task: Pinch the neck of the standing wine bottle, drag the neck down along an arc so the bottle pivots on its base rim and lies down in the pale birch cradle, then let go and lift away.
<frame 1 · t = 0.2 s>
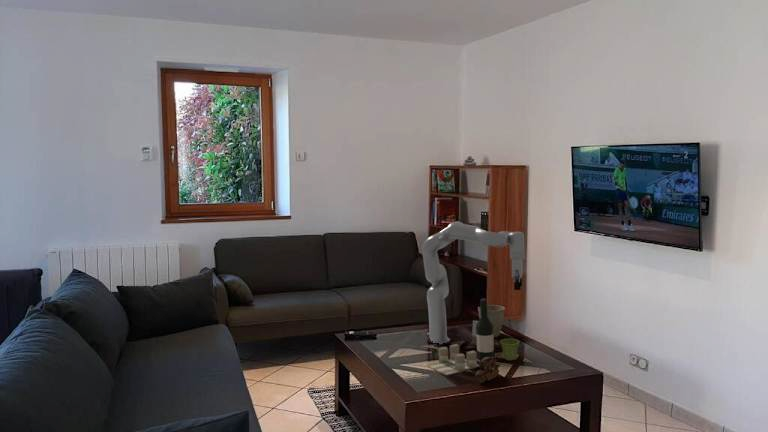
hand: (518, 287, 304), 31 cm above the table, tool pointing down, fingers open, 9 cm apart
plant pot: (492, 335, 328), on the table
wine bottle: (485, 358, 290), on the table
smart speaker: (481, 345, 312), on the table
rest: (453, 366, 280), on the table
wooden carving: (489, 380, 261), on the table
plant pot 2: (510, 359, 288), on the table
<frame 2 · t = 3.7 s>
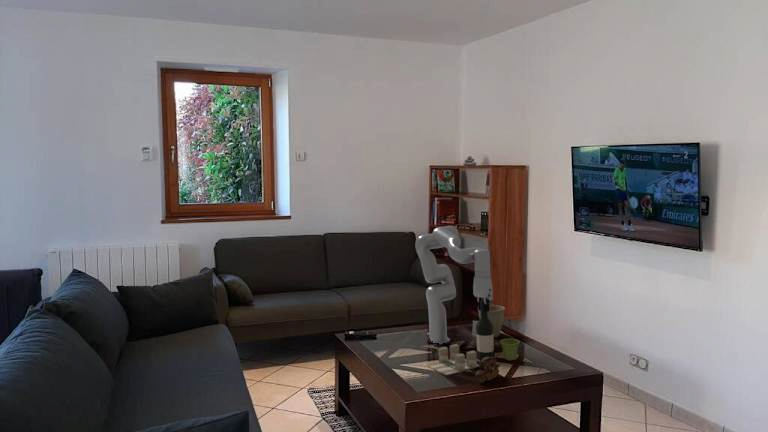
hand: (483, 310, 288), 24 cm above the table, tool pointing down, fingers closed on wine bottle, 3 cm apart
wine bottle: (485, 358, 290), on the table, touching gripper
everything else where it was.
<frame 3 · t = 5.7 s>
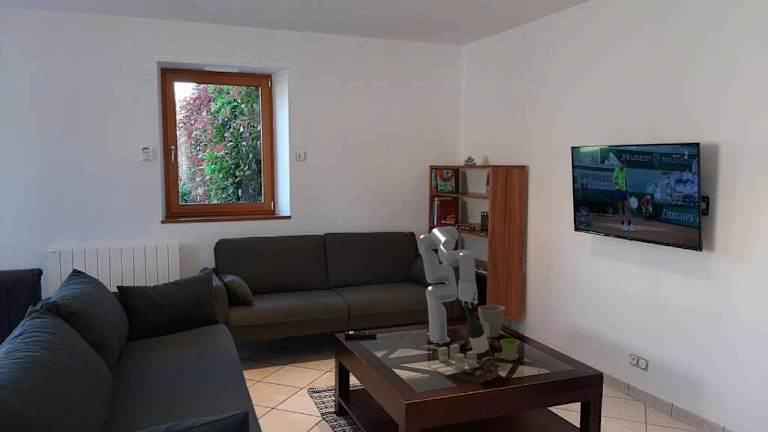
hand: (468, 314, 284), 24 cm above the table, tool pointing down, fingers closed on wine bottle, 3 cm apart
wine bottle: (483, 355, 290), point 1 cm above the table, touching gripper
everything else where it was.
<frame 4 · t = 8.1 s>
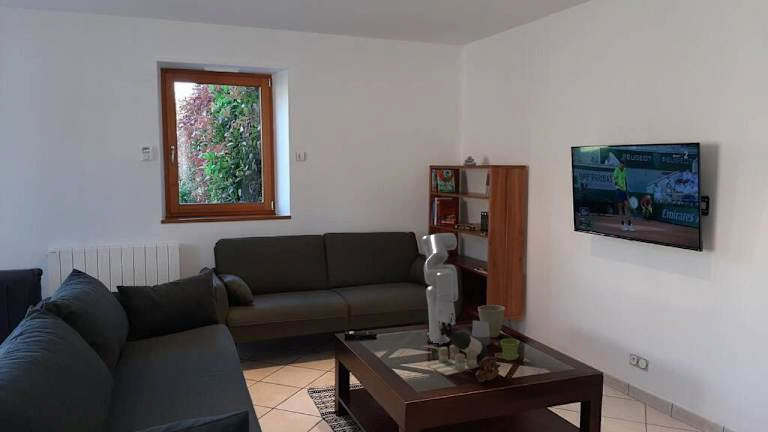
hand: (446, 335, 277), 16 cm above the table, tool pointing down, fingers closed on wine bottle, 3 cm apart
wine bottle: (481, 352, 290), point 3 cm above the table, touching gripper
everything else where it was.
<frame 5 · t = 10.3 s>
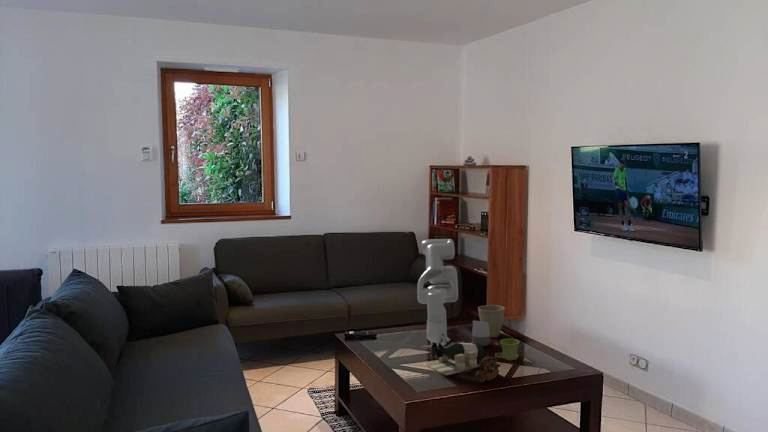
hand: (437, 355, 275), 7 cm above the table, tool pointing down, fingers closed on wine bottle, 3 cm apart
wine bottle: (479, 351, 289), point 4 cm above the table, touching gripper
everything else where it was.
when the fingers open (2 cm above the table, at t = 12.5 s): wine bottle stays where it is, resting on rest.
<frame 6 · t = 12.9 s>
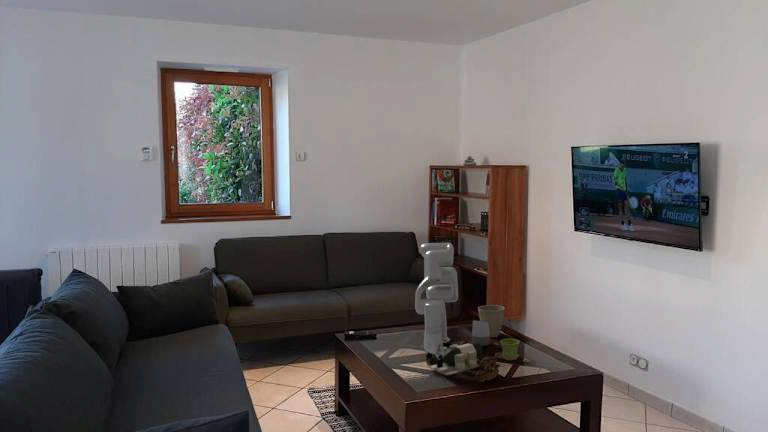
hand: (434, 364, 275), 3 cm above the table, tool pointing down, fingers open, 8 cm apart
wine bottle: (477, 349, 288), point 5 cm above the table, touching rest
everything else where it was.
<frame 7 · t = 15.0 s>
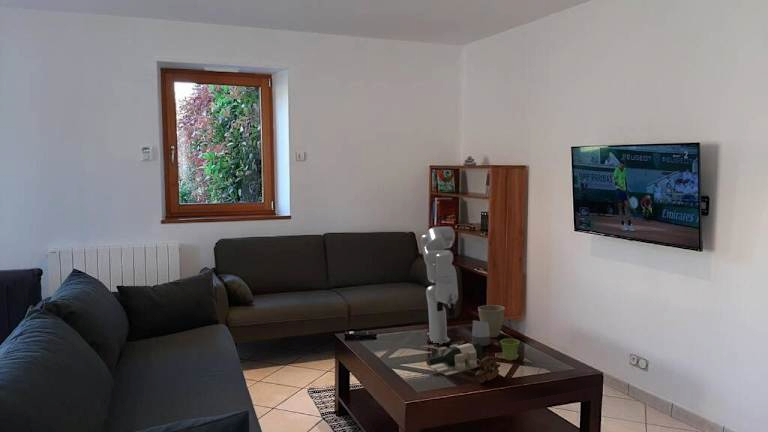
hand: (445, 313, 283), 25 cm above the table, tool pointing down, fingers open, 9 cm apart
nothing on the table moved.
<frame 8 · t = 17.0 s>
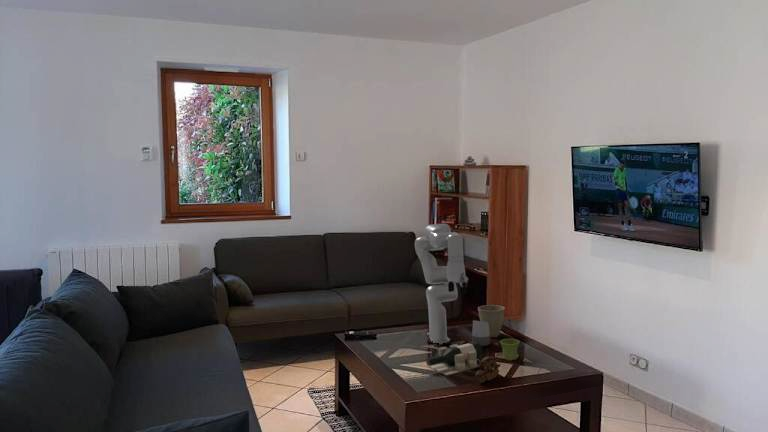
hand: (457, 292, 290), 33 cm above the table, tool pointing down, fingers open, 9 cm apart
nothing on the table moved.
at the end: wine bottle tilted 90°; wine bottle touching rest; the gripper is holding nothing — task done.
